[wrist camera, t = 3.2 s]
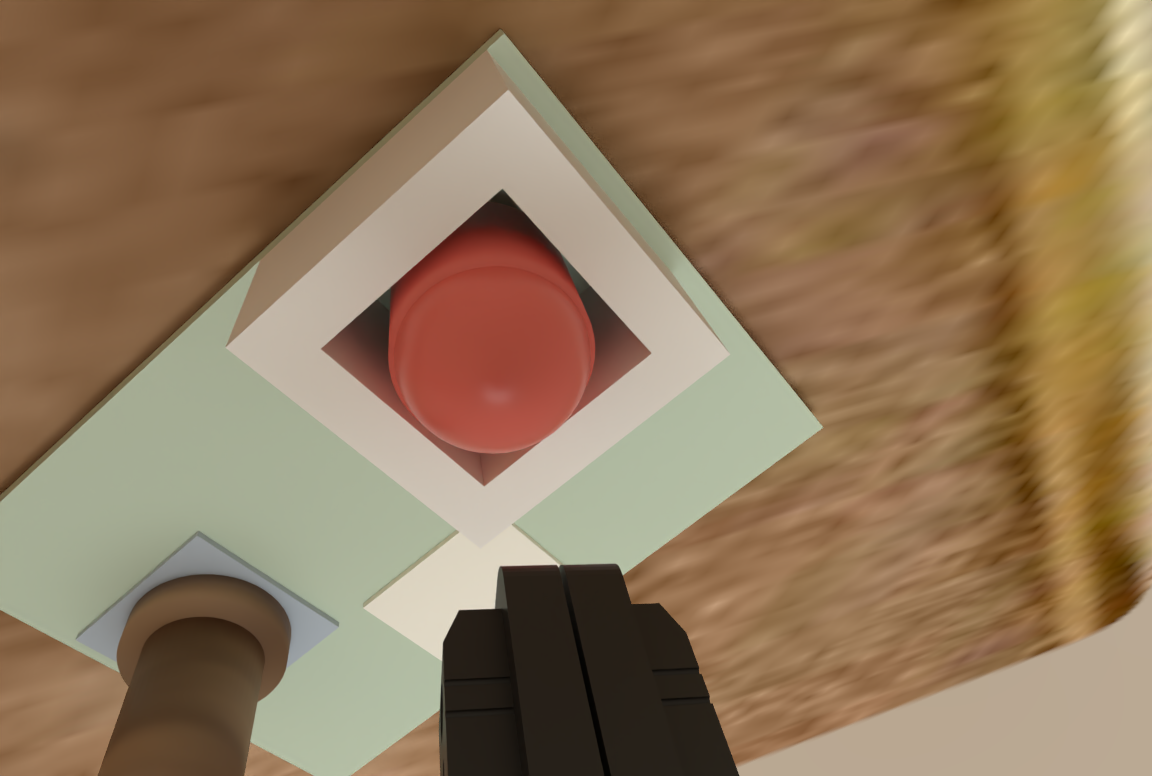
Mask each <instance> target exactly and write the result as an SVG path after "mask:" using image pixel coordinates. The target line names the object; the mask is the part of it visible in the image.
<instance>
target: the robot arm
mask: <svg viewBox="0 0 1152 776" xmlns="http://www.w3.org/2000/svg"><path fill="white" fill-rule="evenodd" d="M709 697H710V696H709V693H708V690H707V688H706V685H705V682H704V680H703V677H702V674H699V666H698V663H697V661H696V658H695V655H694V653H693V650H692V647H691V645H690V642H689V639H688V636H687V634H686V632H685V631H684V630H683V629H682V628H681V627H680V625H679V624H678V623H677V622H676V621H675V620H674V619H673V618H672V617H671V616H670V615H669V613H668V612H667V611H666V610H665V609H664V608H663V607H662V606H661V605H660V604H659V603H656V604H631V601H630V598H629V594H628V591H627V588H626V585H625V582H624V578H623V575H622V572H621V569H620V567H619V566H618V565H617V564H575V565H560V566H559V567H558V566H557V565H525V566H500V567H499V570H498V576H497V587H496V600H495V609H474V610H459V611H458V613H457V615H456V617H455V619H454V621H453V623H452V625H451V627H450V629H449V631H448V633H447V635H446V637H445V639H444V641H443V650H442V672H441V694H440V717H439V748H440V776H739V774H738V771H737V768H736V766H735V763H734V760H733V758H732V755H731V752H730V749H729V747H728V744H727V741H726V739H725V736H724V733H723V731H722V728H721V725H720V723H719V720H718V717H717V714H716V712H715V709H714V706H713V704H710V700H709Z"/></svg>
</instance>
